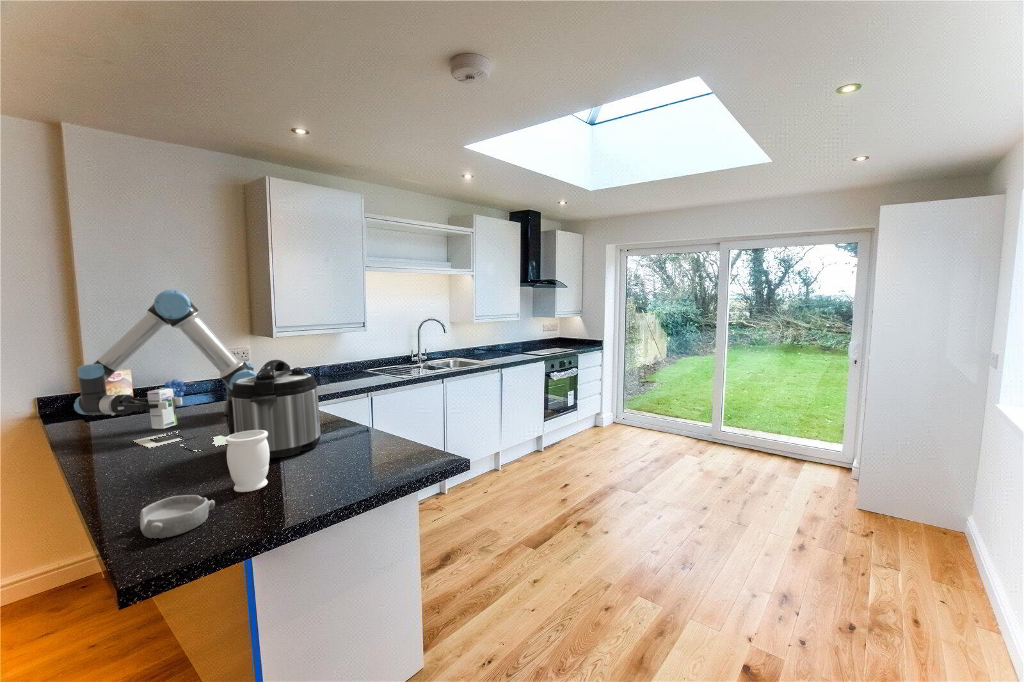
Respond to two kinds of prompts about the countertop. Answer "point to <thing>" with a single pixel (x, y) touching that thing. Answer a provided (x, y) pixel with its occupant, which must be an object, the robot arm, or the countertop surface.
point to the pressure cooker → (277, 408)
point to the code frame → (149, 444)
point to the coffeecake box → (120, 383)
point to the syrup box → (162, 416)
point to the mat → (216, 441)
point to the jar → (248, 459)
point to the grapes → (176, 387)
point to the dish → (174, 515)
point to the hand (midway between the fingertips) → (174, 403)
